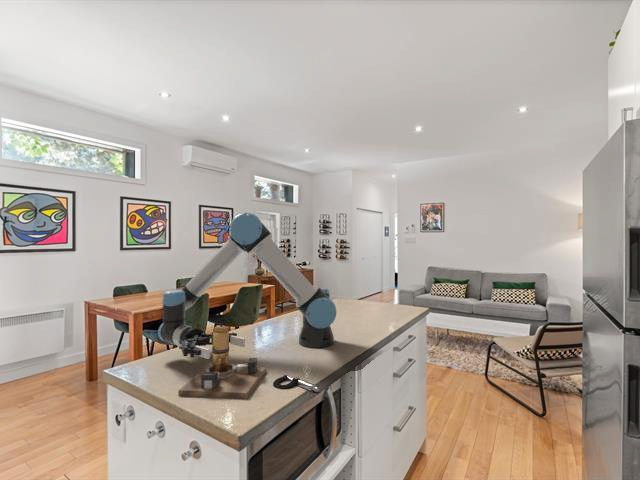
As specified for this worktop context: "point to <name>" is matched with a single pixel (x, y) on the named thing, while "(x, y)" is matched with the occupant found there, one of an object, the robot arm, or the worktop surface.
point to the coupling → (220, 349)
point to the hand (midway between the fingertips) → (227, 348)
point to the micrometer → (294, 383)
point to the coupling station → (225, 381)
